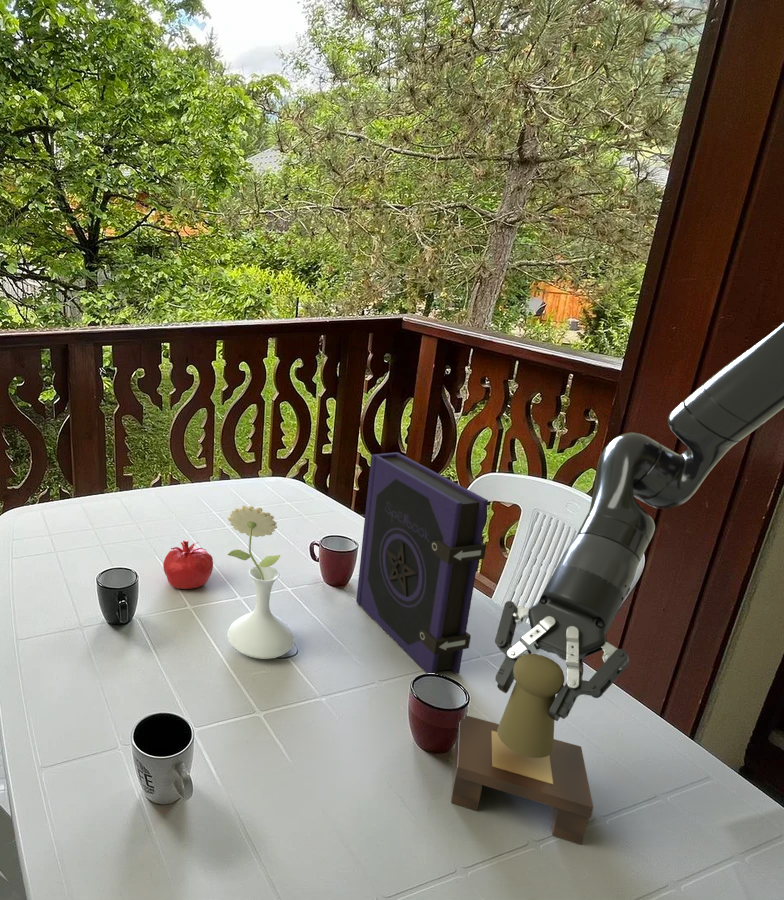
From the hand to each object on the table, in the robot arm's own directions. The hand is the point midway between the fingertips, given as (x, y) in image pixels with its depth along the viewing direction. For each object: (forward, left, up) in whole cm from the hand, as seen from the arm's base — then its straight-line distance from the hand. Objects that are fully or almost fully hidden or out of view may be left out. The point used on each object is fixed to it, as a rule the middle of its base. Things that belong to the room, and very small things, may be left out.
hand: (526, 703), depth 74 cm
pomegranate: (+57, -32, -15) cm, 67 cm away
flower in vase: (+38, -18, -15) cm, 45 cm away
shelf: (-1, -1, -15) cm, 15 cm away
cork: (-1, -2, -6) cm, 7 cm away
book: (+15, -32, -15) cm, 38 cm away
